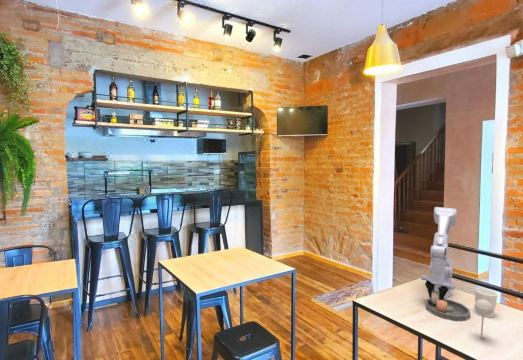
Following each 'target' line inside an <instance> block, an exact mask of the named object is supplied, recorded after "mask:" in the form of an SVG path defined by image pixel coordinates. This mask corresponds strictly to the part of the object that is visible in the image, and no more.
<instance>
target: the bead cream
mask: <svg viewBox="0 0 523 360" xmlns="http://www.w3.org/2000/svg"><path fill="white" fill-rule="evenodd" d="M430 299H431V303H433V304H436V305H437V300H439V291H432V294H431V298H430Z"/></svg>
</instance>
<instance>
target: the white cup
mask: <svg viewBox="0 0 523 360" xmlns="http://www.w3.org/2000/svg"><path fill="white" fill-rule="evenodd" d="M474 294H475V295H474V300H475V301H474V303H475V302H476V301H477V300H480V299H483V300H487V301H488V302H490V303H491V305H492V306H493V312H492V314H491V315H489V316H484V318H493V317H494V316H495V311H496V306H497V298H498V294H497V292H495V291H494V290H491V289H487V288H484V287H483V288H482V287H481V288H479V287H478V288H476V289H475V291H474ZM474 310H475V309H474ZM475 313H476V314H477V315H479V316H481V317H482V315H480V314H479V313H477V311H476V310H475Z"/></svg>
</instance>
